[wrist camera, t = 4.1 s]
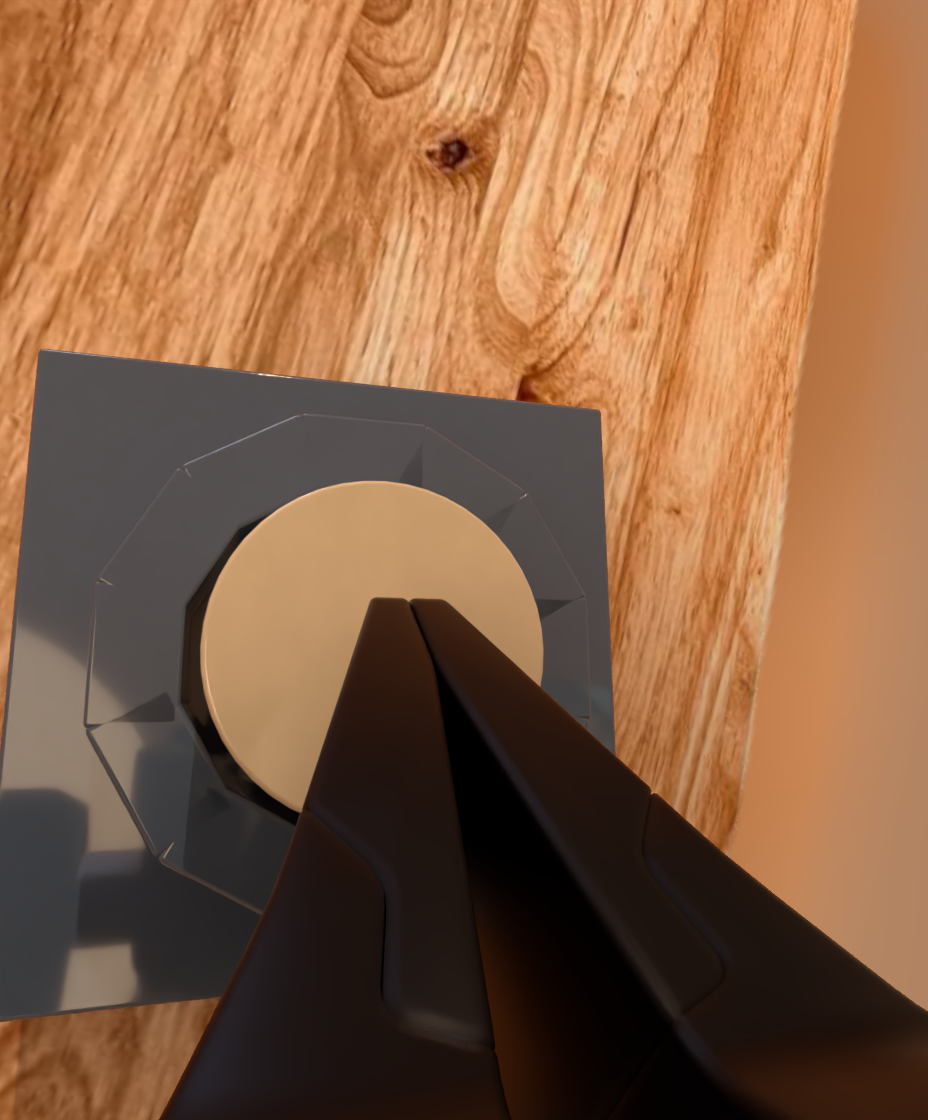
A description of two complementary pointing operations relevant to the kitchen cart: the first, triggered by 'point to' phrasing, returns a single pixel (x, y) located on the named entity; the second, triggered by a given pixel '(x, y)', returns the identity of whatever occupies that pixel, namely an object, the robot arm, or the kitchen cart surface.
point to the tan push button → (341, 613)
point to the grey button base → (175, 636)
